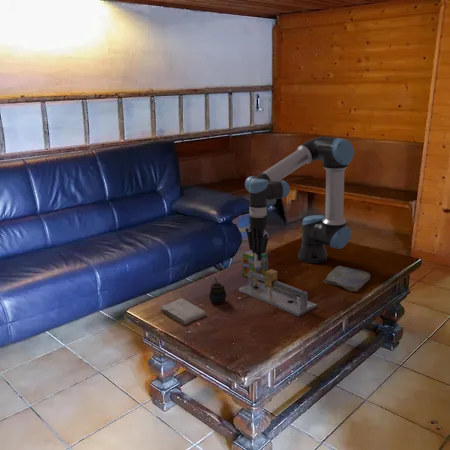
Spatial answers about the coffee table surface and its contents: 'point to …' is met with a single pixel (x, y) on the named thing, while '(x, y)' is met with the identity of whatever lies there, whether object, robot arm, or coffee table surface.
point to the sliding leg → (270, 278)
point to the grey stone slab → (347, 278)
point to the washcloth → (182, 311)
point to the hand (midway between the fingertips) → (257, 266)
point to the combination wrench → (285, 292)
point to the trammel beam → (277, 295)
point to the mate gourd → (217, 293)
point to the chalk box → (249, 264)
